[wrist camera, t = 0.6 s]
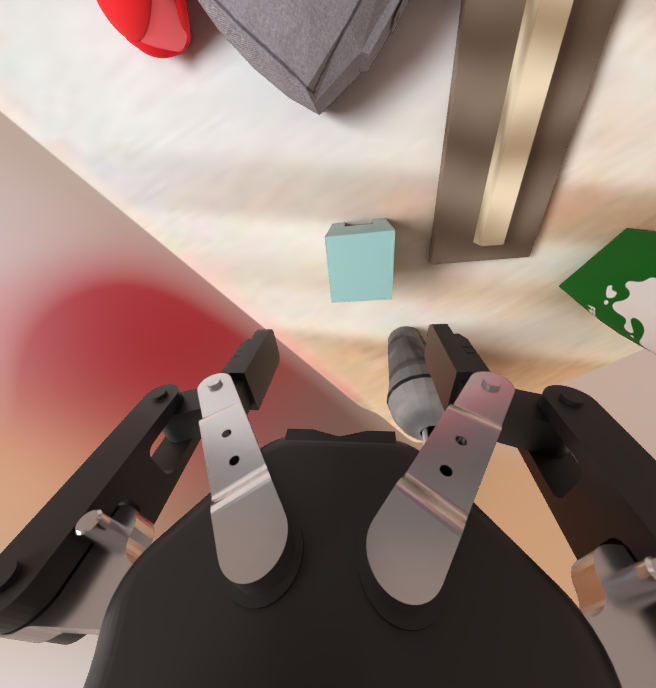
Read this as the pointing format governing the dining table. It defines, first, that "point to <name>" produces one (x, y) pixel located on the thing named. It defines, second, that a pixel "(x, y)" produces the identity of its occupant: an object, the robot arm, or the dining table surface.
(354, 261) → the saddle block
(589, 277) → the milk carton
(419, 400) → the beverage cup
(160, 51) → the cap
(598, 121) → the dining table surface
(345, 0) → the soft grey pack
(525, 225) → the cleat board
